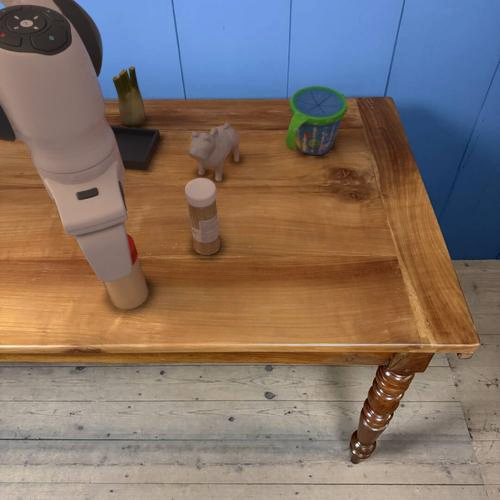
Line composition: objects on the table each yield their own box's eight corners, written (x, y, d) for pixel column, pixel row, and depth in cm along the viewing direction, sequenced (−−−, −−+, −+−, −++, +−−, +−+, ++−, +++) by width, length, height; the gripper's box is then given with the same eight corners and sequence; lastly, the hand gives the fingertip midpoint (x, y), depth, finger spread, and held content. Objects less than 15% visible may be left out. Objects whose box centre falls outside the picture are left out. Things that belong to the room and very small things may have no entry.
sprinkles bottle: (190, 239, 78) (181, 180, 67) (216, 232, 78) (210, 173, 68) (197, 259, 75) (188, 201, 64) (224, 252, 76) (219, 194, 65)
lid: (87, 272, 62) (82, 262, 60) (102, 238, 66) (98, 228, 64) (129, 277, 62) (126, 267, 60) (142, 242, 65) (140, 233, 64)
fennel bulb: (144, 113, 100) (132, 61, 91) (152, 125, 98) (142, 73, 88) (118, 122, 98) (104, 69, 89) (126, 134, 96) (113, 81, 86)
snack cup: (303, 175, 87) (308, 131, 80) (267, 148, 93) (268, 104, 85) (358, 141, 94) (368, 97, 86) (321, 118, 99) (327, 74, 91)
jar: (105, 307, 69) (84, 264, 61) (117, 276, 73) (99, 231, 64) (142, 312, 69) (126, 269, 60) (152, 280, 72) (139, 236, 64)
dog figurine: (185, 185, 86) (177, 139, 78) (220, 147, 93) (217, 101, 85) (209, 195, 84) (204, 149, 76) (243, 155, 91) (242, 109, 83)
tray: (62, 162, 90) (58, 154, 89) (81, 130, 97) (78, 122, 95) (146, 170, 89) (144, 162, 87) (160, 137, 95) (159, 129, 93)
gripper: (42, 121, 56) (77, 201, 67) (65, 239, 44) (102, 313, 55) (94, 110, 58) (119, 190, 69) (129, 220, 46) (153, 296, 57)
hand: (112, 246), depth 62 cm, fingers open, 7 cm apart
